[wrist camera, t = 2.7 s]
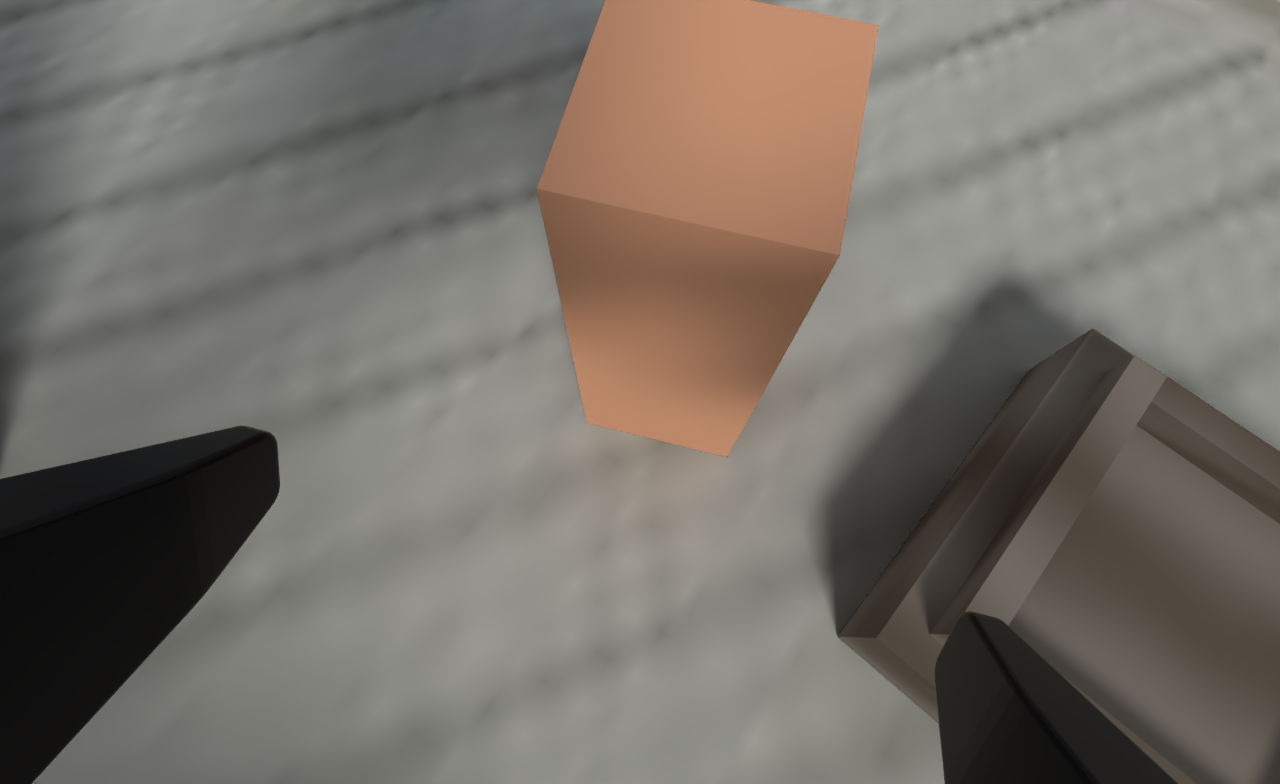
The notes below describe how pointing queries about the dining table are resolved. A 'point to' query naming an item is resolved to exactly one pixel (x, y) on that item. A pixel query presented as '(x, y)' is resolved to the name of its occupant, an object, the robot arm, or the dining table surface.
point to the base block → (1108, 562)
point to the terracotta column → (699, 204)
